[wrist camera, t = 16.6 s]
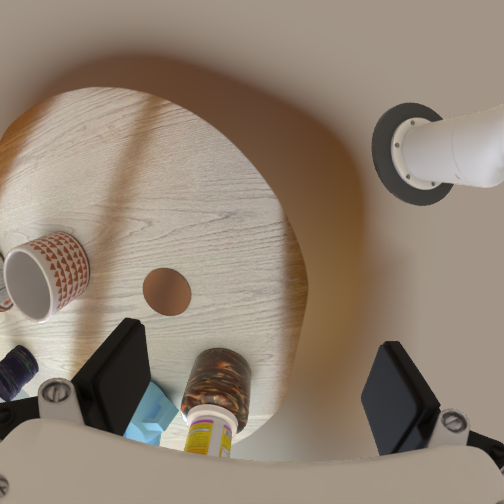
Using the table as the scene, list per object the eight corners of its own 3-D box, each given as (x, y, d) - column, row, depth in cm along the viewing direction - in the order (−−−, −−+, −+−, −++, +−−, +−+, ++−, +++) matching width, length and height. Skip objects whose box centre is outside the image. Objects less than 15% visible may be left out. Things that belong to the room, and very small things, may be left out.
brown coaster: (192, 271, 48) (191, 272, 47) (190, 318, 50) (189, 319, 49) (143, 264, 48) (142, 265, 47) (144, 310, 50) (143, 311, 50)
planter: (68, 307, 51) (34, 334, 39) (34, 256, 48) (-5, 274, 36) (102, 273, 48) (64, 300, 36) (64, 217, 46) (20, 230, 34)
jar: (183, 373, 54) (163, 425, 39) (213, 337, 51) (197, 391, 36) (230, 400, 55) (223, 454, 41) (264, 368, 52) (263, 425, 38)
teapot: (99, 397, 58) (76, 433, 44) (110, 348, 53) (80, 387, 40) (166, 431, 59) (152, 471, 46) (190, 388, 55) (175, 436, 41)
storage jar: (12, 339, 55) (-18, 365, 41) (34, 352, 56) (4, 382, 41) (19, 365, 58) (-8, 392, 44) (41, 378, 58) (15, 408, 44)
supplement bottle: (184, 428, 39) (167, 490, 26) (201, 408, 37) (184, 476, 25) (220, 443, 40) (211, 505, 27) (240, 425, 38) (234, 493, 26)
